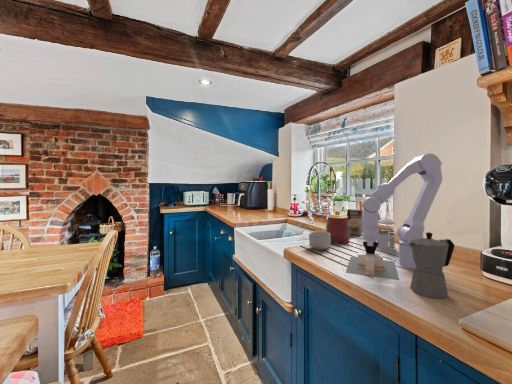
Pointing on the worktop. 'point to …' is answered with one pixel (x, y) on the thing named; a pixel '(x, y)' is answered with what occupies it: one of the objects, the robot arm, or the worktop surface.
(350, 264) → the slate mat
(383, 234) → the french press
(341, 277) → the worktop surface
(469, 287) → the worktop surface
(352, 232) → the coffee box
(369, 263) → the t block
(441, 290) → the coffeepot
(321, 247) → the teacup
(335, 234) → the canister
